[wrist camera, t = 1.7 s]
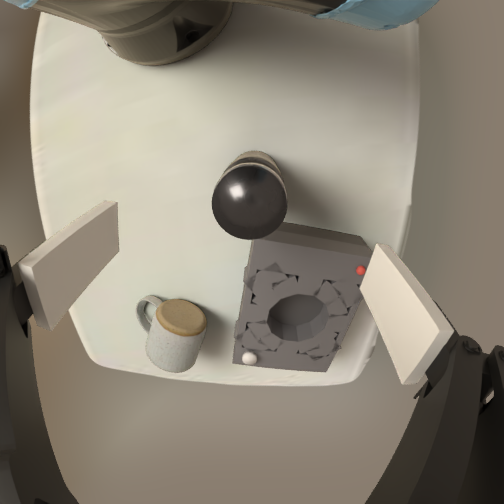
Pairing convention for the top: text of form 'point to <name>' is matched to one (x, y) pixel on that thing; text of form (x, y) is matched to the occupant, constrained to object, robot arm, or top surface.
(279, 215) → the lens
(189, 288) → the top surface
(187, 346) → the ceramic mug
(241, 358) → the box with round hole
